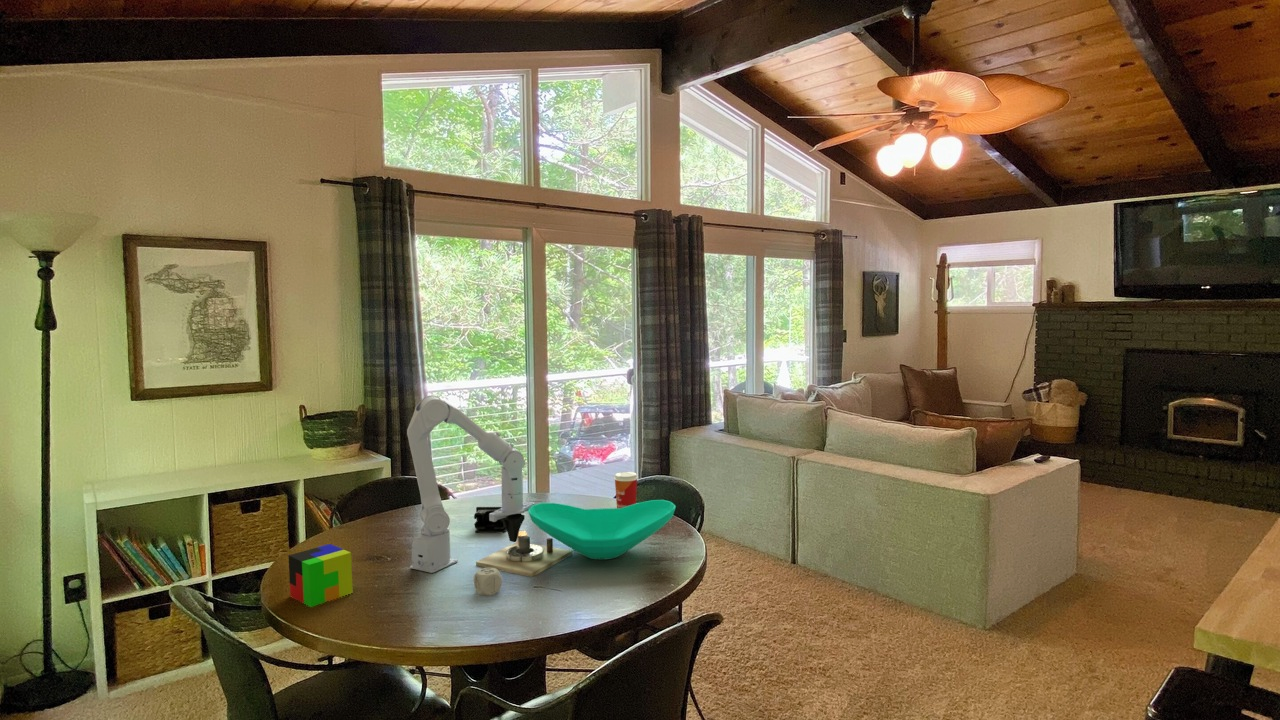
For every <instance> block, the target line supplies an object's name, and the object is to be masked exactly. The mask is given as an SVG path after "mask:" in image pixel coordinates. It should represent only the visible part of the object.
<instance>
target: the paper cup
mask: <svg viewBox="0 0 1280 720" xmlns="http://www.w3.org/2000/svg"><path fill="white" fill-rule="evenodd" d="M638 479H639V476H638V474H637V473H636V472H635V471H634V472H633V471H622V472H617V473H615V475H614V477H613V480H614V485H615V486H614V487H615V500H616V508H623V507H626V506H629V505H633V504H636V503H637V489H638V488H637V487H638Z"/></svg>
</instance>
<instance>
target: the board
mask: <svg viewBox="0 0 1280 720" xmlns="http://www.w3.org/2000/svg"><path fill="white" fill-rule="evenodd" d="M530 544H531V545H538V546H540V547H542V548H543V549H544V554H543V556H542V557H541V558H538V559H536V560H532V561H524V562H522V561H520V562H518V561H511V560H509V559H508V558H506V551H507V550H508V549H509V548H511V547H514V546H518V545H517V541H516V542H513V543H512V544H511V545H508V546H506V547H504V548H502V549H500V550H497V551H496V552H493V553H491V554H489V555H487V556H485V557H483V558H481V559H479V560H477V561H475V566H477V567H480V568H481V567H482V568H496V569H497V570H498V571H501V572H507V573H511V574H515V575H522V576H527V577H530V578H533V577H535V576H537V575H538V574H540V573H542V572H543V571H546V570H547V569H549V568H551V567H553V566H554V565H556V564H557V563H559V562H562V561H563V560H565V559H566V558H568V557H570V556H572V555H573V550H572V549H571V550H570V549H565V548H557V547H554V546H553V552H551V553H548V552H547V545H542V544H541V545H540V544H536V543H532V542H531V536H528V535H527V536H522V537H520V538H519V550H520V554H527V553H531V552H530Z"/></svg>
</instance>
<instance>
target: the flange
mask: <svg viewBox="0 0 1280 720" xmlns="http://www.w3.org/2000/svg"><path fill="white" fill-rule="evenodd" d="M522 536H528V534H527V531H526V530H519V533H518V537H517V541H516V542H517V545H518V546H514V547H511V548H509V549H508V550H507V551H506V558H508V559H509V560H511V561H518V562H520V561H522V562H524V561H532V560H536V559H538V558H541V557H542V556H543V554H544V549H543V548H542V547H540V546H538V545H539V544H537V545H531V544H532V543H531V544H530V552H531V553H527V554H520V550H519V538H520V537H522Z"/></svg>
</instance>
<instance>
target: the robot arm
mask: <svg viewBox="0 0 1280 720" xmlns="http://www.w3.org/2000/svg"><path fill="white" fill-rule="evenodd" d="M443 422H444V423H446V424H455V425H457V426H458V427H459V428H461V429H462V430H463V431H465V432H466V433H467V434H468V435H470V436H472V437H473V438H475V440H477V446H478V448H479V449H480V450H481V451H482V452H483V453H485V454H486V455H488V456H489V457H490V458H492V459H493V460H494V461H496V462H499V465H501V477H500V478H501V479H500V482H501V507H502V508H500V509H499V510H497V511H495V512H493V513H490V514H489V521H493V522H496V521H497V520H499V519H501V520H502V522H503V523H504V525H505V527H506V530H507V531H506V532H507V536H508V540H509V542H512V543H516V542H517V537H518V533H519V531H520V529H521V526H522V524H523V522H524V520H525V517H526V516H525V515H524V513H526V512H528V510H529V509H530V508H531V507H532V506H533V505H536V504H535V502H533V501H528V502H524V487H523V486H524V484H523V483H524V480H523V479H524V477H523V468H524V466H525V464H526V459H525V457H524V455H523V453H522V452H520V451H519V450H517V448H516V447H515V446H514V444H513V443H512V442H508V441H507V440H505V439H504V438H502V437H501V435H502V434H501V433H500V432H499V431H494V430H484V429H483V428H482V427H481V426H480V425H478V424H477V423H476V422H475V421H474V420H472V419H471V418H470V417H469V416H468V415H466V414H465V413H464V412H463V411H462V410H460V409H459V408H457V407H455V406H454V405H452V404H451V403H449V402H446V401H445V400H443V399H441V398H440V396H437V395H433V394H431V395H427V396H424V397H423V398H422V399H421V400H420V401H419V403H417V405H416V406H415V408H414V412H413V414H412V417H411V419H410V421H409V424H408V427H407V430H406V436H407V438H408V443H409V444H408V445H409V447H410V449H409V450H410V453H411V457H412V462H413V467H414V471H415V475H416V477H415V478H416V480H417V481H416V482H417V486H418V490H419V494H420V503H421V509H420V514H419V515H420V520H421V521H422V522H423V523H422V524H423V526H422V527H421V529H420V533H419V535H418V536H417V537H416V538H414V539H413V541H412V544H411V563H412V564H411V565H410V566H409V568H410V569H413V570H417V571H421V572H426V573H431V574H433V573H436V572H439V571H441V570H442V569H445V568H446V567H449V566H451V565H453V564H455V563H457V562H458V559H457V558H453V557H451V542H450V541H451V537H450V527H449V526H450V520H451V519H450V516H449V514H448V513H447V511H446V509H445V507H444V505H443V502H442V499H441V496H440V495H441V494H440V491H439V490H440V489H439V487H438V485H439V484H438V482H437V477H436V473H435V472H436V471H435V468H434V463H433V458H432V453H431V448H430V444H429V439H428V436H429V435H430V433H431V432H432V431H433V429H434V428H436V427H437V426H439V425H441V424H442V423H443Z"/></svg>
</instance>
